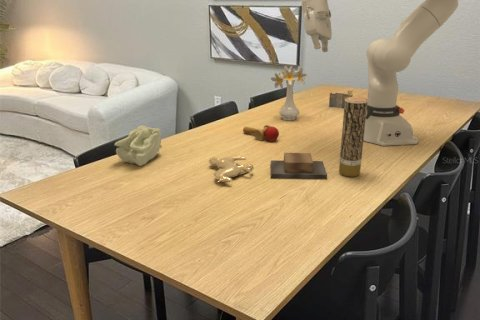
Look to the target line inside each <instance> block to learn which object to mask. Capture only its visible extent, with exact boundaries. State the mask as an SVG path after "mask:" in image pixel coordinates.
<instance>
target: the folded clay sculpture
mask: <svg viewBox="0 0 480 320" xmlns="http://www.w3.org/2000/svg"><path fill="white" fill-rule="evenodd" d="M161 132H162V131H161V129H160V128H157V127H154V128H152V127H148V126H145V125H144V124H142V125H139V126H138V127H137V128H135V129H132V130H130V131H129V133H128V135H127V136H126V137H125V138H122V139H119V140H118V141H116V142H115V143H114V146H116V149H115V153H116V155H117V156H118V158H119V159H120V160H121V161H122V162H123V163H130V164H135V165H137V166H139V167H142V166H145V165H146V164H147V163H148V162H149V161H150V160H153V158H154V157H156V156H157V155H158V153H159V152H160V149H161V148H162V147H163V146H162V138H161V137H162V136H161Z"/></svg>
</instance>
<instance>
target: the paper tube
mask: <svg viewBox="0 0 480 320" xmlns="http://www.w3.org/2000/svg"><path fill="white" fill-rule="evenodd" d="M367 100H368V98H366V97H360V96H352V97H347V98H345V104H344V108H343V117H342V118H343V119H342V131H341V141H340V153H339V169H338V172H339V173H340V175H342V176H345V177H357V176H359V175H360V174H361V166H362V158H363V151H364V150H363V149H364V130H365V121H366V111H367Z"/></svg>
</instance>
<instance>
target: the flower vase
mask: <svg viewBox="0 0 480 320" xmlns="http://www.w3.org/2000/svg"><path fill="white" fill-rule="evenodd" d="M274 76H275V77H274ZM274 76H273V77H270V79H271V81H272V82H275V83H274V88H275V89H277V88H280V89H283V88H284V85H283V82H284V81H285V83H286V98H285V102H284V104H283V106H282V107H281V108H280V109H279V115H280V116H281V117H282V120H283V121H295V120H296V117H298V115H299V114H300V111H299V108H298V107H297V106H296V104H295V101H294V85H295V83H296V82H297V84H298V85H300V83H301V84H302V85H303V86H304V85H305V83H306V81H305V80H306V78H307V76H308V75H307V73H303V68H302V67H300V66H299V65H297V70H296V69H295V68H293V65H292V66H290V67H289V68H288V66H287V65H284V66H283V70H280V72H279V73H277V72H275V73H274Z"/></svg>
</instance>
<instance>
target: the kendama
mask: <svg viewBox="0 0 480 320" xmlns="http://www.w3.org/2000/svg"><path fill="white" fill-rule="evenodd" d="M242 133H243V134H252V135H254V138H255V139H256V140H257V141H263V140H264V139H265V140H267V141H269V142H274V141H277V139H278V138H279V137H280V136H279V135H280V131H279V130H278V128H277V127H275V126H272V125H270V124H266V125H264V127H263V128H262V129H260V128H254V127H249V126H244V127H243V129H242Z"/></svg>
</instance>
